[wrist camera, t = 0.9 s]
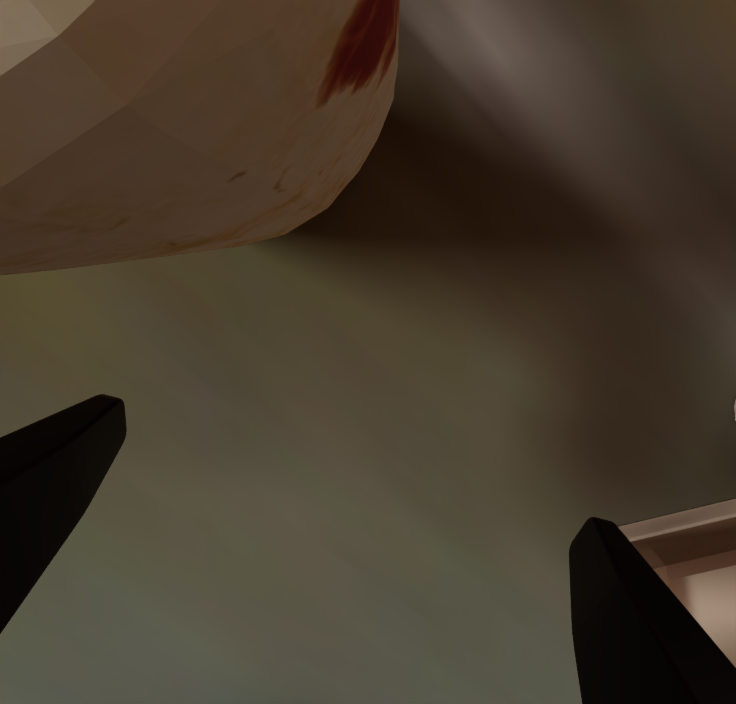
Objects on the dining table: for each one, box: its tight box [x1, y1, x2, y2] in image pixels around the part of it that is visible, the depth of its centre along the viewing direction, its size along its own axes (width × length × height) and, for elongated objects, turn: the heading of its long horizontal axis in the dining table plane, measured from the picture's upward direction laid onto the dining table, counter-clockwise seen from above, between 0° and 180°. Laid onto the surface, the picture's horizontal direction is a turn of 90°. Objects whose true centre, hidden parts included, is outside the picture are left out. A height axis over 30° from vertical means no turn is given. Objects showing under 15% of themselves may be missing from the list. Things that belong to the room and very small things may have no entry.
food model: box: [0, 0, 399, 275], centre depth 12 cm, size 10×7×20 cm
